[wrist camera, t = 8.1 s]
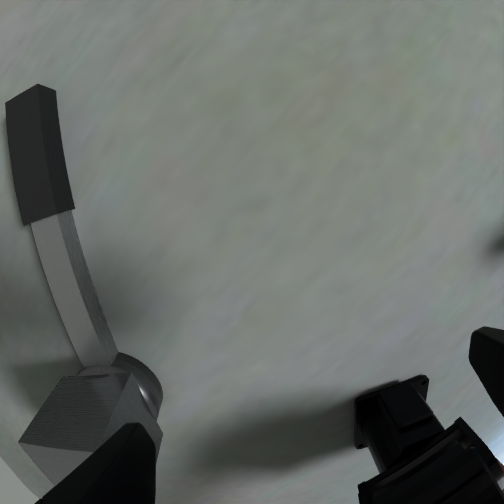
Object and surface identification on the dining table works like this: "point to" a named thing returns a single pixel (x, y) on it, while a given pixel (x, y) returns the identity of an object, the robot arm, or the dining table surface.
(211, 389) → the dining table surface
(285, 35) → the dining table surface
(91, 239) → the dining table surface
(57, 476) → the grey bevelled cube
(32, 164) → the ratchet
